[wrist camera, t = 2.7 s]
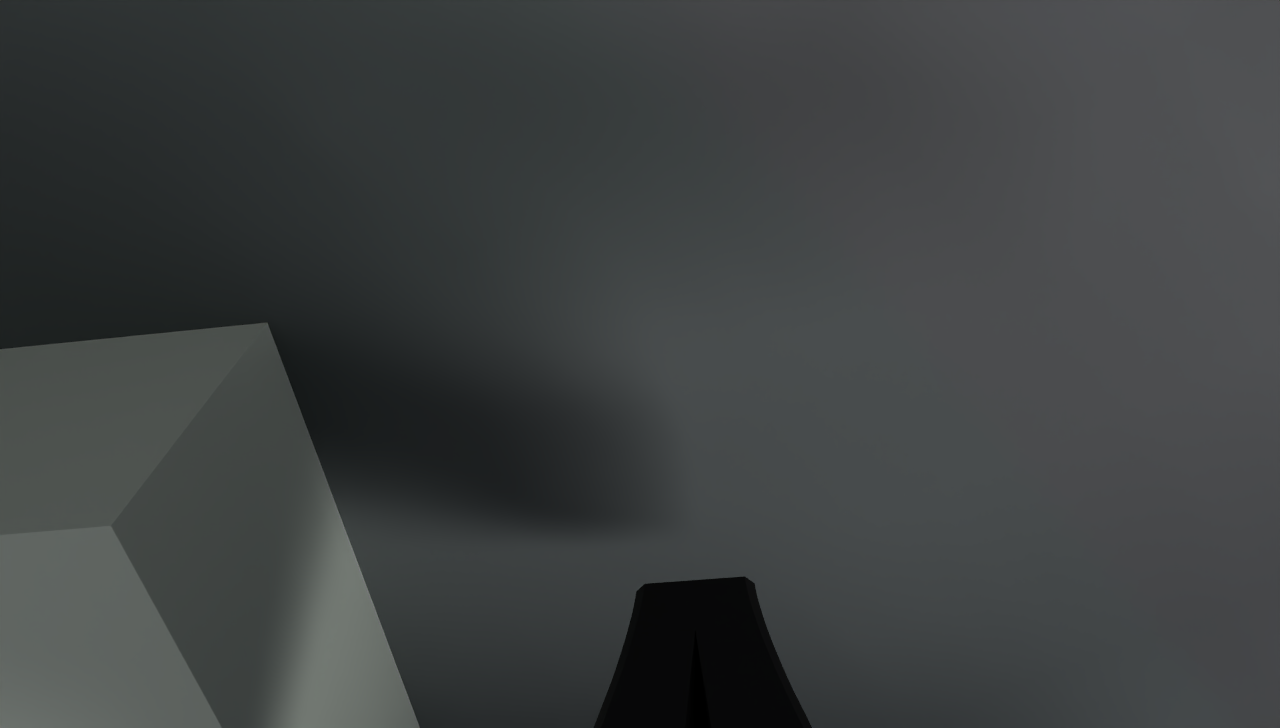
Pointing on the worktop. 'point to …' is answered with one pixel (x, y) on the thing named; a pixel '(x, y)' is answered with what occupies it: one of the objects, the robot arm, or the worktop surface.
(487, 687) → the worktop surface
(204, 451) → the sage block
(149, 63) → the worktop surface
